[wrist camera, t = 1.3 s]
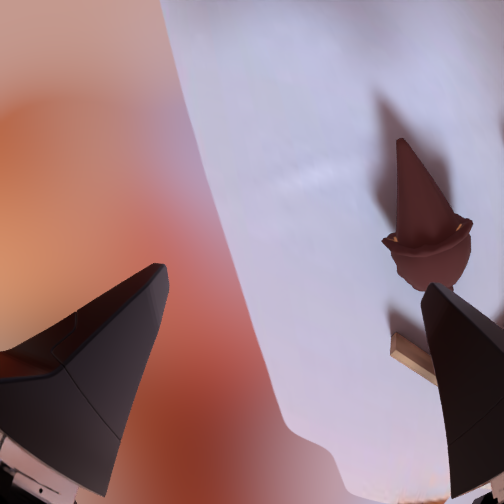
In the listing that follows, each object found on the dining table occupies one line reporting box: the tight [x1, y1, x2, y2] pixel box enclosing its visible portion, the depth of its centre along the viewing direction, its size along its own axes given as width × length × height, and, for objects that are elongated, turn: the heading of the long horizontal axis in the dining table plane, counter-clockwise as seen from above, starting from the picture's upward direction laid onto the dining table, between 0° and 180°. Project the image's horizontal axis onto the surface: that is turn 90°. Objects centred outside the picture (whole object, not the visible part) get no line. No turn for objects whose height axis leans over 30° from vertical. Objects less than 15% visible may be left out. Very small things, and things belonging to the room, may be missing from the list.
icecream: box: [382, 138, 473, 292], centre depth 19 cm, size 7×7×15 cm
